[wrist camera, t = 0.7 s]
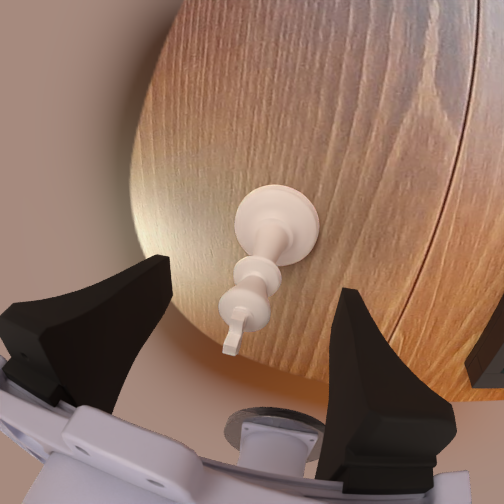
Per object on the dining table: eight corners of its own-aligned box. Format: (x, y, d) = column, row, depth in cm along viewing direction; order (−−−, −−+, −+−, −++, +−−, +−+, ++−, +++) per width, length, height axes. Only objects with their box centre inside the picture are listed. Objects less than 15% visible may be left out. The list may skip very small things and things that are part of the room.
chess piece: (231, 251, 20) (163, 371, 12) (241, 176, 18) (158, 270, 9) (308, 269, 20) (285, 406, 11) (328, 195, 17) (323, 313, 9)
